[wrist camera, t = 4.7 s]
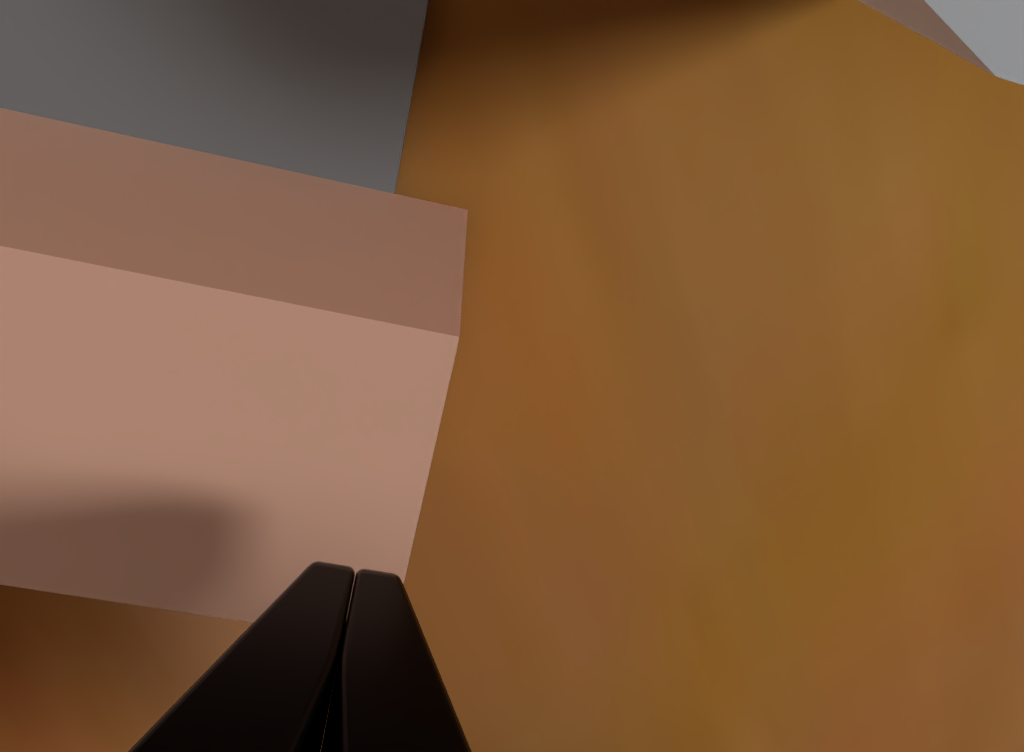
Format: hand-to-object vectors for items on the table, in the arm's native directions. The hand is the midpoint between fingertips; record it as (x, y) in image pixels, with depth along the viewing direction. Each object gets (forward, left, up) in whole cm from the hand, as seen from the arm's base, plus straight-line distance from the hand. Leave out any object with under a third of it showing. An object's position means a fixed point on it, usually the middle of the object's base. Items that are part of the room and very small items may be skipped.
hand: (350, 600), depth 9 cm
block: (0, -1, -4) cm, 4 cm away
